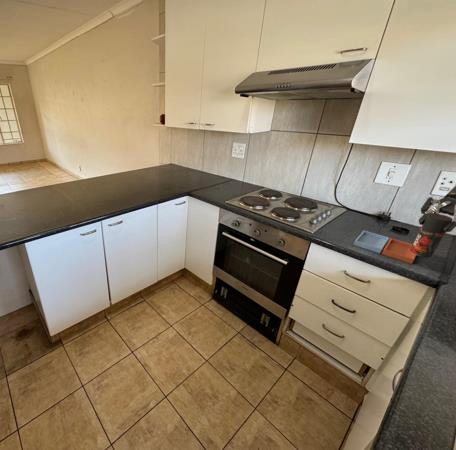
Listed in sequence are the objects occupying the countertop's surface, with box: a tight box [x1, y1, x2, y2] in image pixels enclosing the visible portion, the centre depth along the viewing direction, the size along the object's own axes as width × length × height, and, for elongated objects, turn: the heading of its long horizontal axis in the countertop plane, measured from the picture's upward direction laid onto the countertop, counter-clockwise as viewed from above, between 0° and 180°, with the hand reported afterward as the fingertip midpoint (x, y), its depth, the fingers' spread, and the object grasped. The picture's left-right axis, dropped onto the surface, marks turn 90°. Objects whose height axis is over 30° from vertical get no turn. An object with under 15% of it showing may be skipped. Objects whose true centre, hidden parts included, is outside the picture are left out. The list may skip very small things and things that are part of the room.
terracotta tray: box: [381, 237, 417, 265], centre depth 107 cm, size 10×15×2 cm, turn 130°
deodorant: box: [410, 213, 454, 259], centre depth 89 cm, size 6×6×15 cm
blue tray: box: [352, 230, 390, 254], centre depth 114 cm, size 10×15×2 cm, turn 130°
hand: (432, 227), depth 87 cm, fingers closed on deodorant, 6 cm apart
